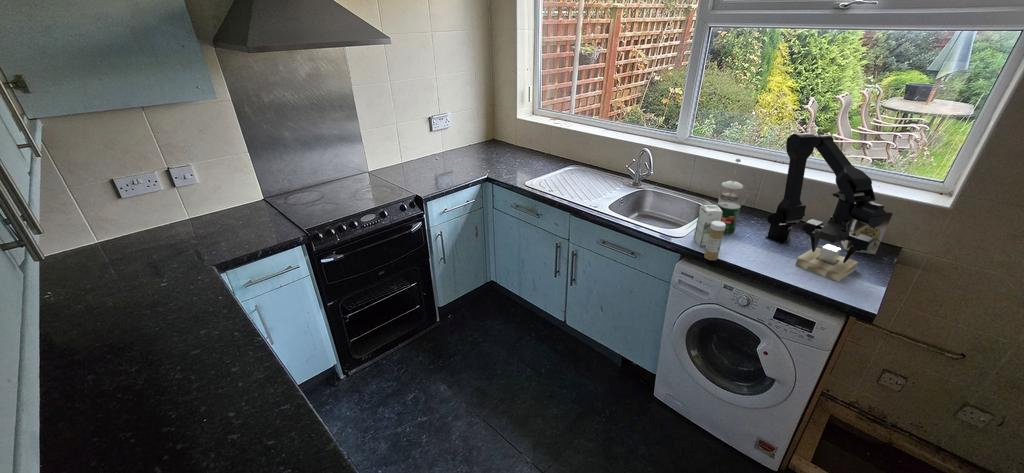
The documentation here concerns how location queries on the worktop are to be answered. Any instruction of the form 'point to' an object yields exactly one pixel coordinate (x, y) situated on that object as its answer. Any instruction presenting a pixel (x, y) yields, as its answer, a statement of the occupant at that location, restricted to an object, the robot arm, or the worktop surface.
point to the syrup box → (706, 222)
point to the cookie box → (869, 232)
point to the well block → (826, 265)
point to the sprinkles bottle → (714, 240)
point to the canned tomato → (729, 215)
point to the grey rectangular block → (829, 254)
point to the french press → (731, 185)
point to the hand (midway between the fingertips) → (828, 257)
